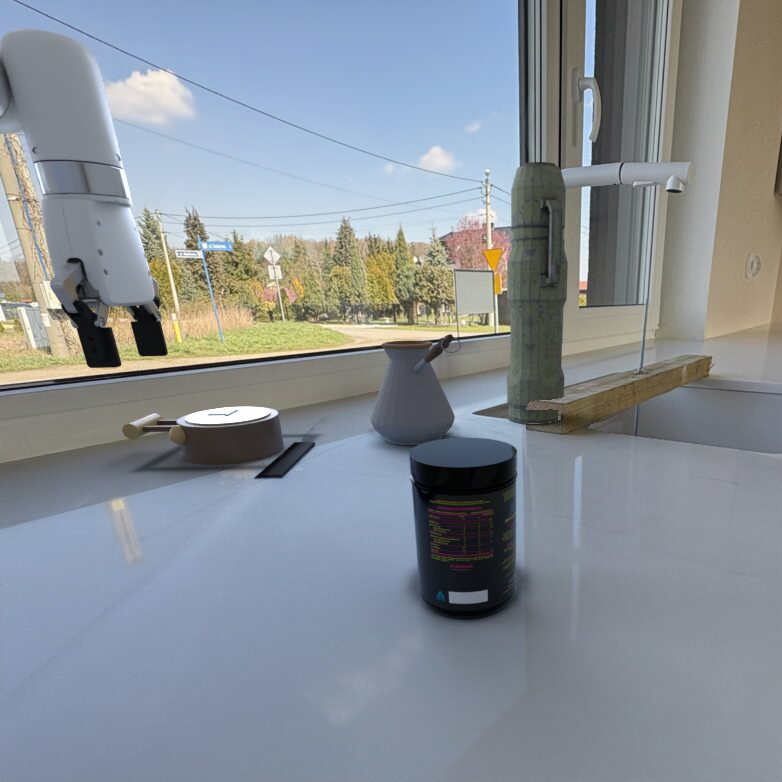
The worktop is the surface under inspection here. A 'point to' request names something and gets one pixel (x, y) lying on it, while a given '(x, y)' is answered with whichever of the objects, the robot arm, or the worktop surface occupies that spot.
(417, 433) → the coffee pot
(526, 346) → the thermos
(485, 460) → the supplement container
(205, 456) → the clock
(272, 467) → the mat
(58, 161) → the robot arm
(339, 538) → the worktop surface
